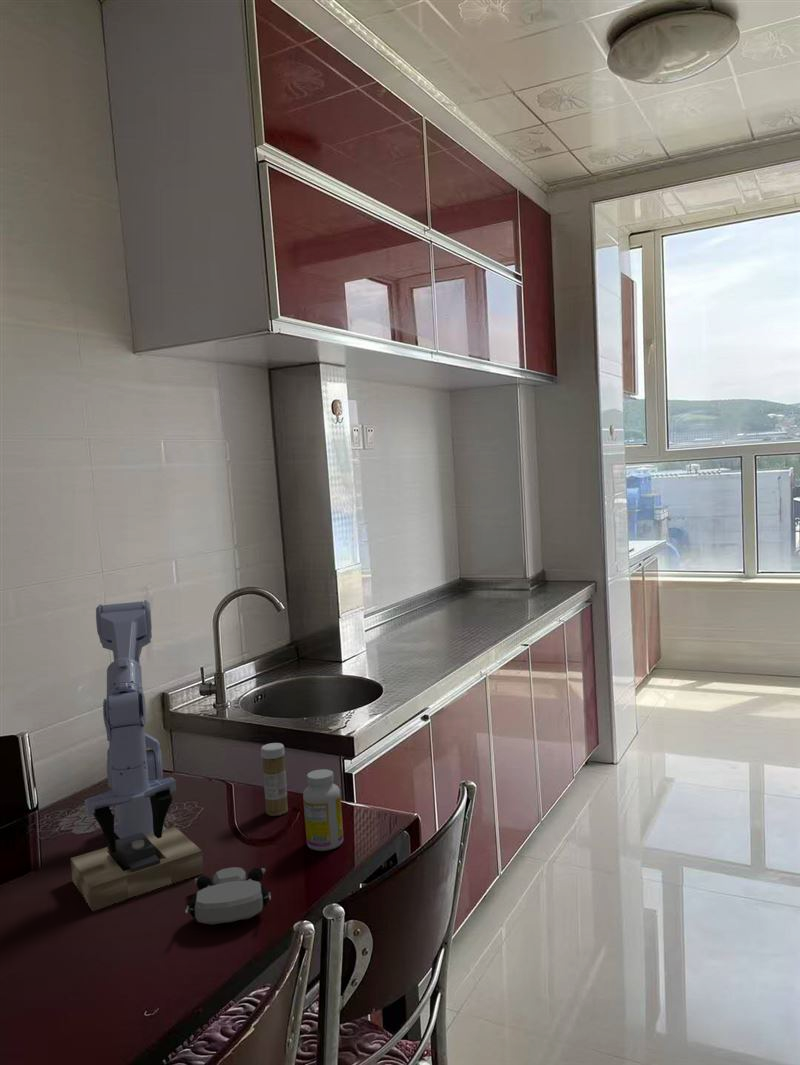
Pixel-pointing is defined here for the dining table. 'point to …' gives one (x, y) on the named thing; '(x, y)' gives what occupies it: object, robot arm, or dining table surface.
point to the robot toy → (229, 896)
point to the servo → (135, 853)
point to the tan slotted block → (113, 885)
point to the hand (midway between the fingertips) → (135, 843)
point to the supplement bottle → (322, 811)
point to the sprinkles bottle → (274, 779)
